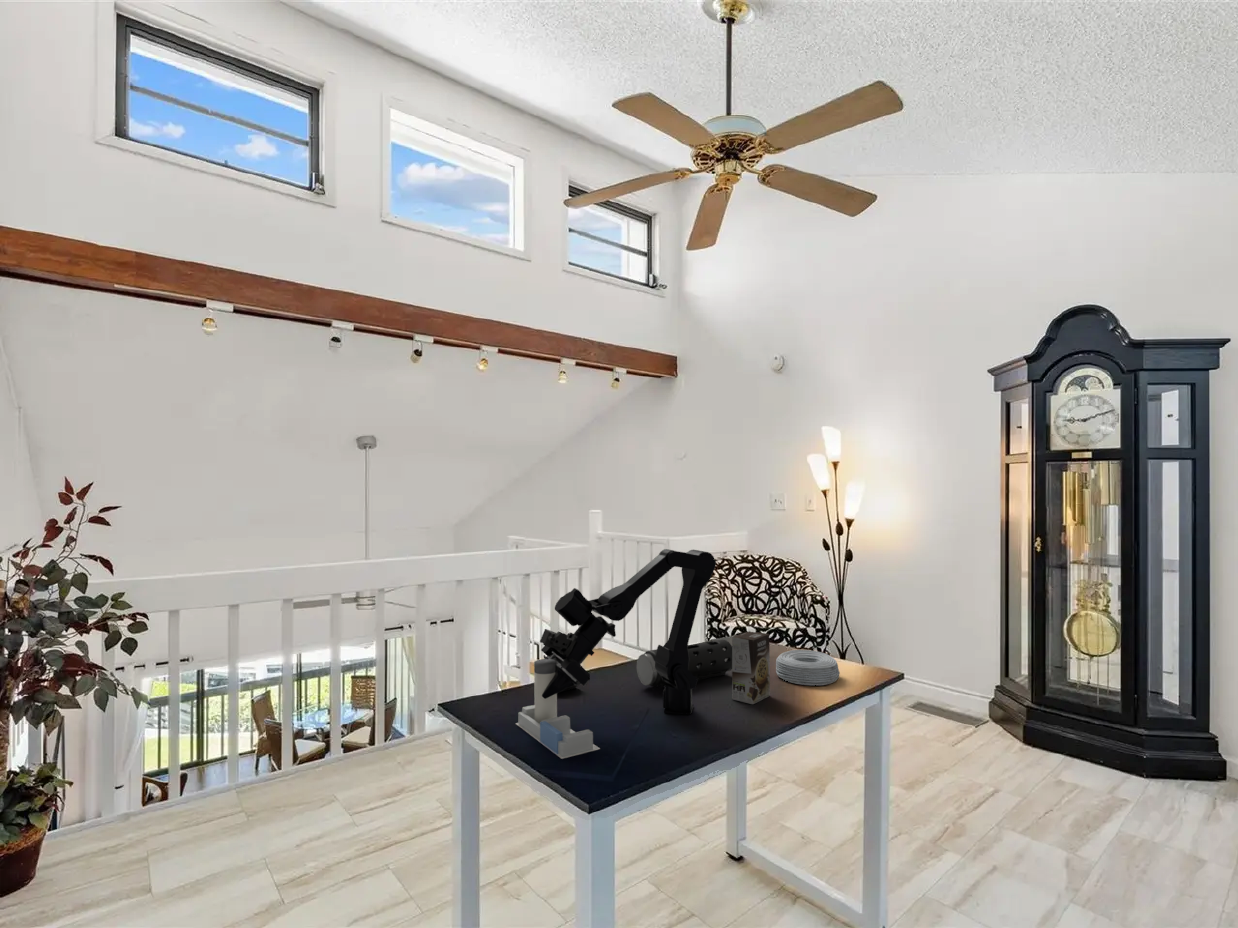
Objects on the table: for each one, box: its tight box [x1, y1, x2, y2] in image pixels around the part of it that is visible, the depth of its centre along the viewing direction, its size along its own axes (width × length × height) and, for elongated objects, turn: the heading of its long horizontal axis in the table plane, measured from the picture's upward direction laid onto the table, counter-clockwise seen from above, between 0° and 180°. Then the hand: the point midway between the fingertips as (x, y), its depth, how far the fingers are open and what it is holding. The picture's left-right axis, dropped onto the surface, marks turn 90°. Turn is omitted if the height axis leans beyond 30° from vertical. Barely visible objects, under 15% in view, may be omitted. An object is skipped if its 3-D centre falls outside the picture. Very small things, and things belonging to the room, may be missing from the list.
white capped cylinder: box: [533, 658, 558, 724], centre depth 151 cm, size 5×5×14 cm
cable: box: [775, 649, 841, 687], centre depth 190 cm, size 18×18×6 cm
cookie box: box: [731, 630, 771, 705], centre depth 173 cm, size 9×6×16 cm
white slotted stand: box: [515, 704, 601, 760], centre depth 146 cm, size 9×23×5 cm, turn 32°
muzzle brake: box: [636, 639, 732, 688], centre depth 187 cm, size 10×28×10 cm, turn 121°
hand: (539, 693), depth 150 cm, fingers closed on white capped cylinder, 5 cm apart
